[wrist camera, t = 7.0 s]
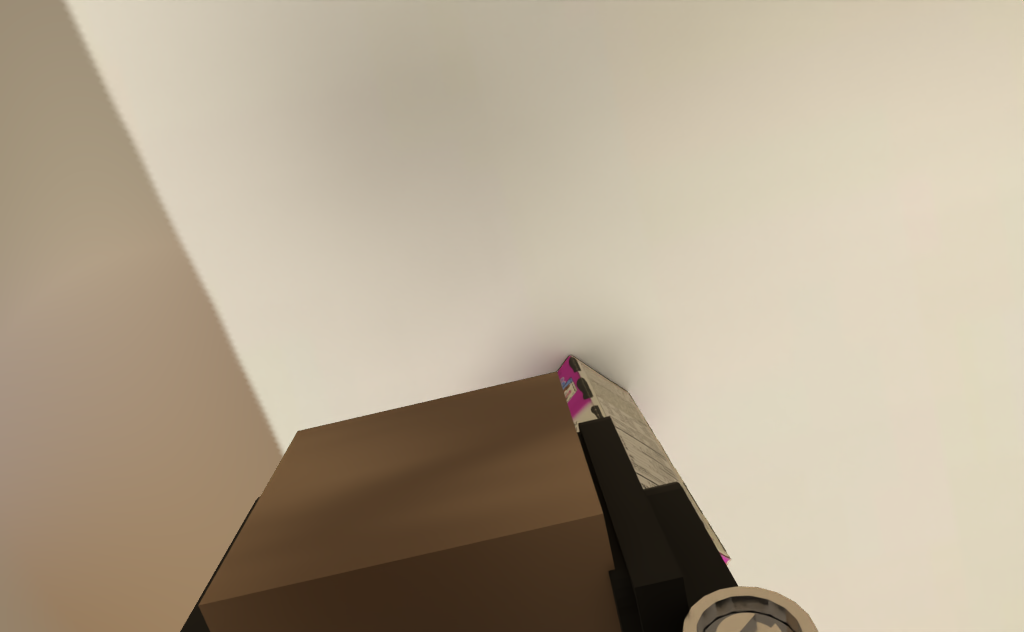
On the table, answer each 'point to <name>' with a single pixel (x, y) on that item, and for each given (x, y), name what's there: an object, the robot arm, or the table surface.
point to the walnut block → (427, 525)
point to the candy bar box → (623, 428)
